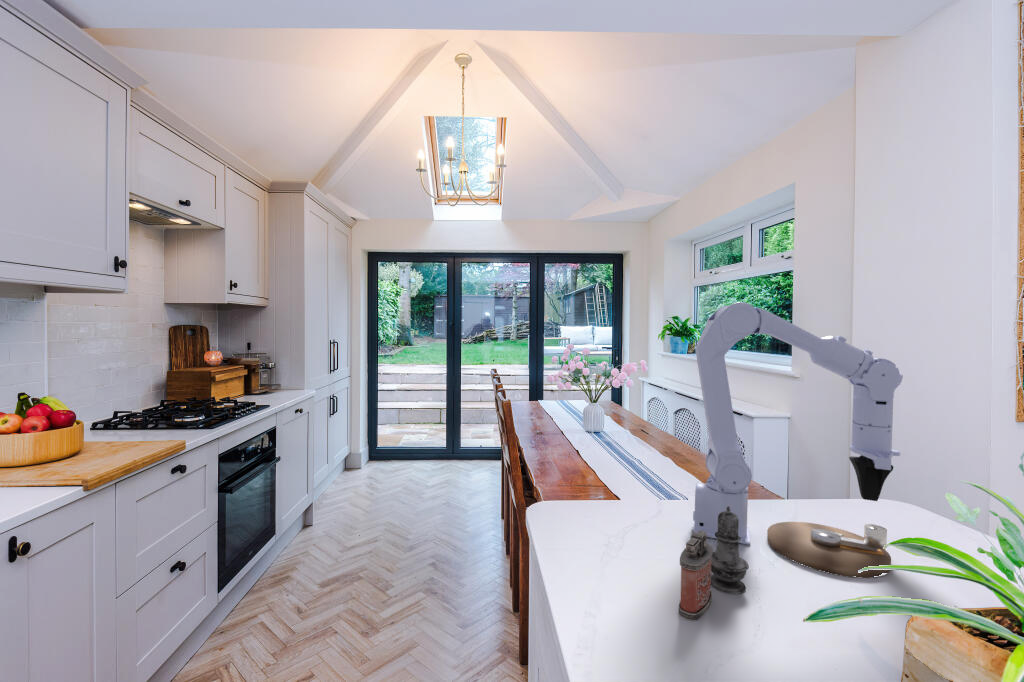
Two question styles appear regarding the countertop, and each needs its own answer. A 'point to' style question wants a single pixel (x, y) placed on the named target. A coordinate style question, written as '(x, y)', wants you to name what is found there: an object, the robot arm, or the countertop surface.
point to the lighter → (696, 577)
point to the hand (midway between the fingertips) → (869, 499)
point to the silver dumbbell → (872, 539)
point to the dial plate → (825, 550)
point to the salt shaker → (728, 556)
